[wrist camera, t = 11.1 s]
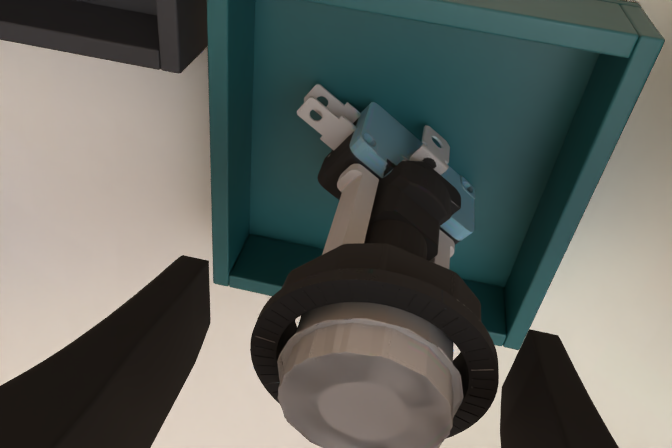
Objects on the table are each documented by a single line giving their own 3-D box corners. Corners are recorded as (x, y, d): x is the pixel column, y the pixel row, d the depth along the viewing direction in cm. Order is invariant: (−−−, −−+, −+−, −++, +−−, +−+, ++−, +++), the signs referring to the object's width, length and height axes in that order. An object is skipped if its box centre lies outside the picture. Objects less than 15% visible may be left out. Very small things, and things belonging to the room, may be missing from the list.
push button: (268, 135, 20) (137, 361, 12) (370, 20, 17) (282, 222, 9) (409, 247, 22) (374, 509, 14) (524, 161, 19) (560, 431, 11)
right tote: (238, 235, 24) (212, 283, 21) (241, -65, 17) (204, -41, 14) (514, 294, 23) (519, 351, 20) (639, 2, 16) (667, 40, 14)
